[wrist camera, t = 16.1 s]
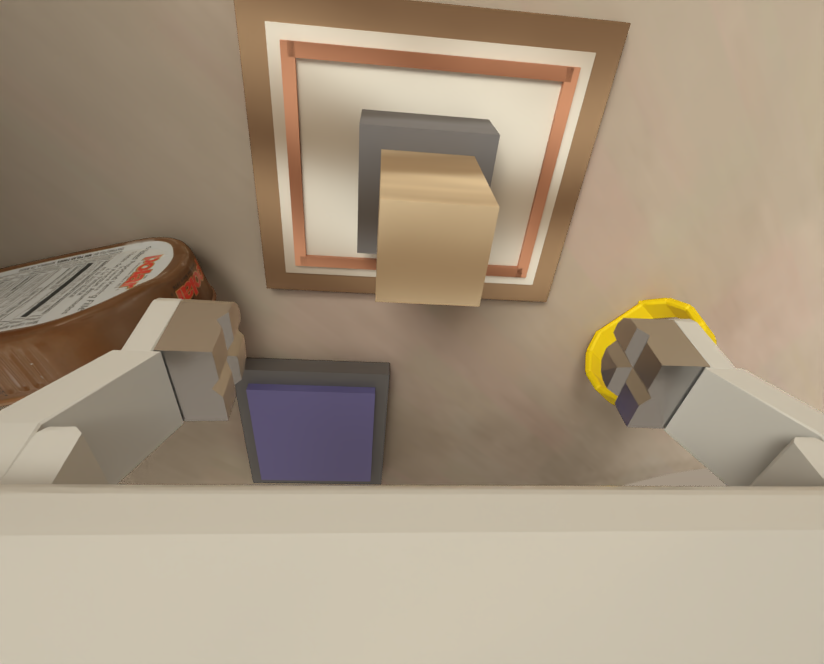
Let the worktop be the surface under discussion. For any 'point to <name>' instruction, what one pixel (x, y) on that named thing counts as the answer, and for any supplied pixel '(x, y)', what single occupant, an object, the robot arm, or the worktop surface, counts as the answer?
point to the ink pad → (314, 420)
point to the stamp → (427, 205)
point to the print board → (422, 94)
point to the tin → (85, 307)
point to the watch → (641, 310)
